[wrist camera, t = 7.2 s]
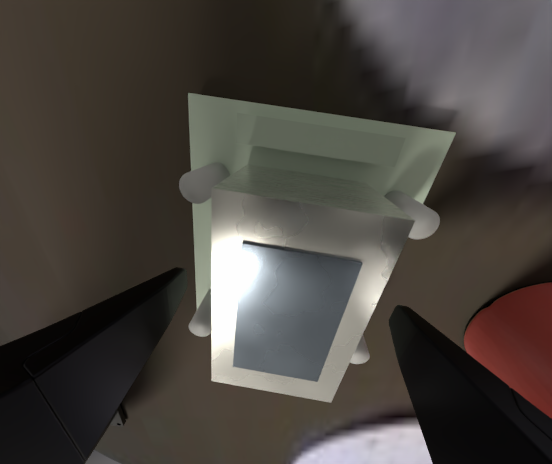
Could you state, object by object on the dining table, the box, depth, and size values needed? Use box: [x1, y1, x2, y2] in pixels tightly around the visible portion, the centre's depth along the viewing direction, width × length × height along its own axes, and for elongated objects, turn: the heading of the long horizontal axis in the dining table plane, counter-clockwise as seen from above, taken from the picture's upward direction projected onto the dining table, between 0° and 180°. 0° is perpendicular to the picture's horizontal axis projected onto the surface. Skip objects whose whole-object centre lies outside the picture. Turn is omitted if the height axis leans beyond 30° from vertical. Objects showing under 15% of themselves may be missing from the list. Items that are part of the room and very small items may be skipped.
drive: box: [211, 164, 415, 402], centre depth 10 cm, size 9×6×5 cm, turn 172°
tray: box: [179, 93, 456, 364], centre depth 11 cm, size 14×11×4 cm
